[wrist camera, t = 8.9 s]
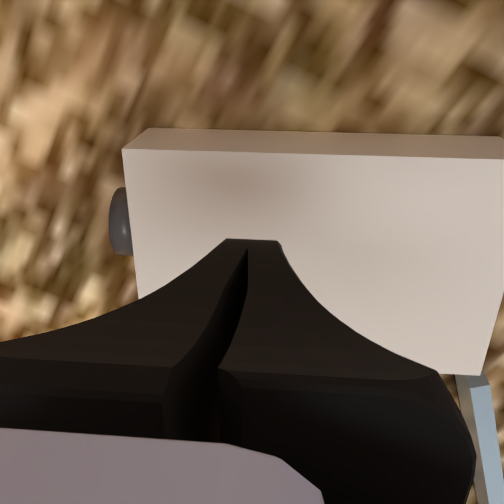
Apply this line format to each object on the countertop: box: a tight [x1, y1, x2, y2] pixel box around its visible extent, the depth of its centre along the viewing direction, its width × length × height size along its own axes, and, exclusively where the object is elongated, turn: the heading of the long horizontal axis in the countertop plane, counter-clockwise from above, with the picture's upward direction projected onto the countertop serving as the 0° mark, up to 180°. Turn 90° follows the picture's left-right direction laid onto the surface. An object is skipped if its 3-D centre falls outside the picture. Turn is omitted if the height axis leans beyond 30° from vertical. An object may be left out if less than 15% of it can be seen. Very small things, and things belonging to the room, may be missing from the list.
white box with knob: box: [109, 128, 504, 376], centre depth 20 cm, size 15×9×4 cm, turn 90°
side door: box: [455, 371, 504, 504], centre depth 24 cm, size 13×2×3 cm, turn 18°
